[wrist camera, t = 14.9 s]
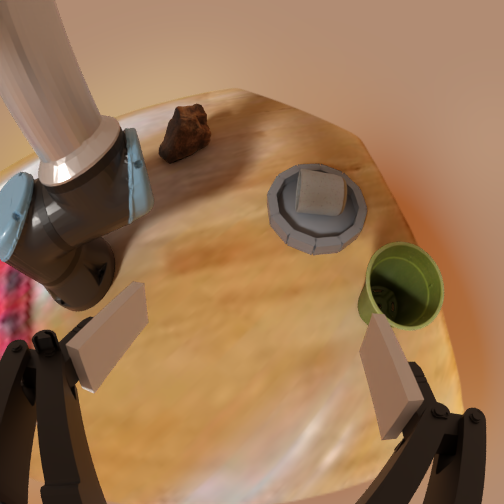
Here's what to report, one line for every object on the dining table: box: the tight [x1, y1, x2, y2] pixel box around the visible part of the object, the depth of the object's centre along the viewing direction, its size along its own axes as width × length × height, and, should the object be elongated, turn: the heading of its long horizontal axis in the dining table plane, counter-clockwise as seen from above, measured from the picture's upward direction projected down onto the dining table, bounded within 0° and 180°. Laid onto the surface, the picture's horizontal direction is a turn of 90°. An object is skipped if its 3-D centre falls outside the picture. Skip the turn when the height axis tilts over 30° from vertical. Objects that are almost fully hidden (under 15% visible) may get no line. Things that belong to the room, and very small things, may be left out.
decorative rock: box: [159, 104, 211, 163], centre depth 52 cm, size 12×6×11 cm, turn 123°
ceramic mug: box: [295, 169, 347, 216], centre depth 45 cm, size 10×8×7 cm
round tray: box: [267, 164, 367, 255], centre depth 47 cm, size 17×17×3 cm
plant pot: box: [358, 242, 444, 331], centre depth 36 cm, size 12×12×11 cm
